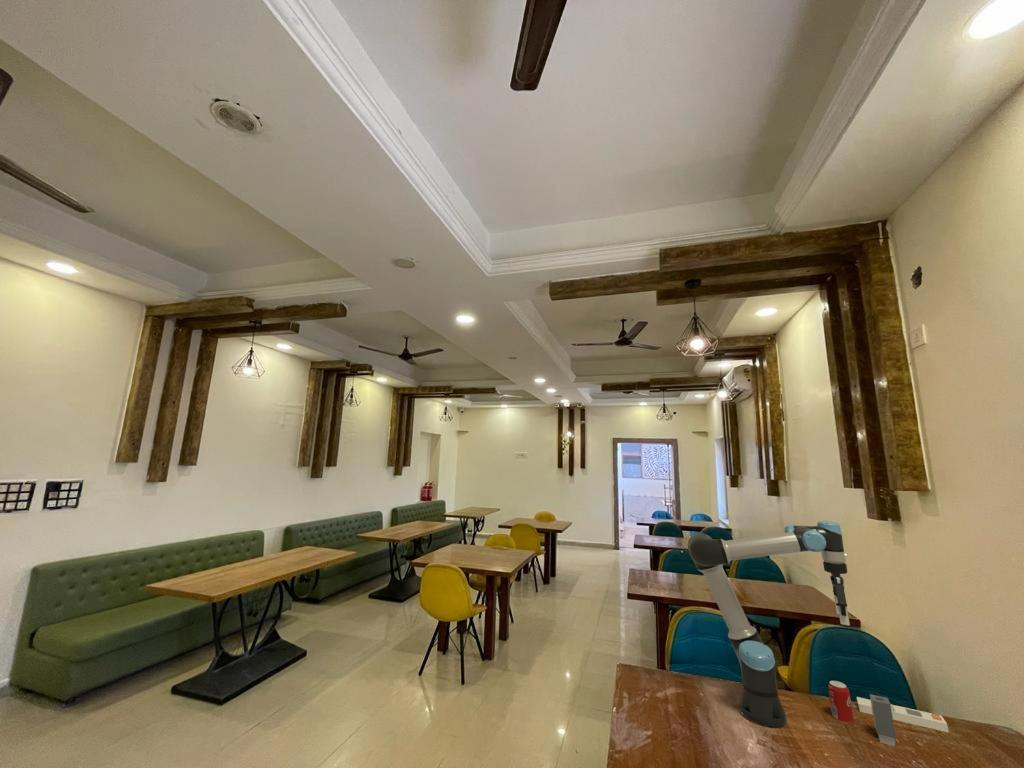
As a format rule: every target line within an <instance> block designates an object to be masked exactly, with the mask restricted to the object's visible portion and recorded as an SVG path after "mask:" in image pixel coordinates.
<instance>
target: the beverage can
mask: <svg viewBox="0 0 1024 768" xmlns="http://www.w3.org/2000/svg"><path fill="white" fill-rule="evenodd" d="M827 689H828V695H829V696H828V697H829V703H830V710H831V715H832V717H833V718H834V719H835V720H837V721H840V722H842V723H848V724H849V723H854V715H853V714H854V713H853V707H852V706H851V705H852V701H851V694H850V690H849V688H848V687H847V685H846V684H845V683H843V682H841V681H839V680H838V681H837V680H830V681H829V684H828V685H827Z"/></svg>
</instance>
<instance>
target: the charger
mask: <svg viewBox="0 0 1024 768" xmlns="http://www.w3.org/2000/svg"><path fill="white" fill-rule="evenodd" d="M869 698H870V699H869V700H871V706H872V713H873V715H872V717H873V718H872V719H873V724H874V728H875V732H876V734H877V735H878V740H879V743H881V744H886V745H889V746H893V747H896V741H895V739H897V736H896V730H895V729H896V728H895V725H894V719H893V717H892V711H891V705H892V704H891V702H890V701H889V698H888V697H885V696H880V695H876V694H871V693H869ZM890 704H891V705H890Z"/></svg>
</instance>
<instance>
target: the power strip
mask: <svg viewBox="0 0 1024 768" xmlns="http://www.w3.org/2000/svg"><path fill="white" fill-rule="evenodd" d="M856 702H857V705H854V704H851V706H852V708H854V709H855V708H856V709H859V712H861V713H864V714H869V715H872V716H873V713H872V706H871V700H870V699H867V698H864V697H860V696H856ZM890 705H891V711H892V717H893V721H894V720H895V721H898V722H902V723H907V724H911V725H916V726H919V727H924V728H929V729H932V730H937V731H940V732H941V731H942V732H945V733H949V732H950V731H949V727H948V723H947V721H946V720H945V719H944V717H943V715H940V714H936V713H930V712H927V711H922V710H918V709H912V708H909V707H905V706H900V705H894V704H892V703H890Z"/></svg>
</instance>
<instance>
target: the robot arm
mask: <svg viewBox="0 0 1024 768" xmlns="http://www.w3.org/2000/svg"><path fill="white" fill-rule="evenodd" d="M687 550H688V553H689V556H690V558H691V560H692V561H693V563H694V564H695V567H696V569H697V571H699V572H700V573H702V574H703V576H704V579H705V580H706V582H707V585H708V587H709V589H710V591H711V594H712V595H713V598H714V600H715V602H716V605H717V606H718V608H719V611H720V613H721V615H722V618H723V620H724V622H725V624H726V626H727V628H728V630H729V631H728V634H727V636H728V639H729V641H730V644H731V645H732V648H733V650H734V653H735V655H736V657H737V659H738V662H739V663H738V664H739V665H740V672H741V682H742V691H741V696H740V699H739V711H740V710H741V712H742V713H743V715H744V716H746V717H747V718H748V719H749V721H750V720H751V721H750V722H752V721H753V722H752V723H754V722H755V724H757V723H758V724H757V725H760V726H763V725H765V726H764V727H768V726H772V727H771V728H780V727H784V726H786V724H787V721H788V720H787V713H786V711H785V709H784V706H783V704H782V702H781V699H780V697H779V690H778V681H777V674H776V672H777V671H776V660H775V659H776V658H775V657H774V652H773V650H772V649H771V648H770V647H769V646H768V645H767V644H764V642H763V641H762V639H761V636H760V634H759V632H758V630H757V629H756V627H754V626H752V625H751V624H750V622H749V620H748V618H747V615H746V613H745V612H744V608H743V607H742V605H741V603H740V600H739V598H738V597H737V595H736V593H735V591H734V588H733V587H732V584H731V582H730V580H729V578H728V576H727V574H726V572H725V570H724V567H723V566H724V565H729V564H730V563H731V561H738V560H745V559H754V558H762V557H769V556H777V555H785V554H794V553H801V552H803V553H805V552H813V553H820V552H821V558H822V560H823V561H822V565H823V570H824V572H827V573H829V574H830V575H829V576H830V581H831V585H832V592H833V598H834V599H833V600H834V603H835V604H834V605H835V611H836V614H837V615H838V616H839V623H840V625H844V626H850V625H851V623H850V619H849V617H850V616H849V612H848V603H847V598H846V593H845V584H844V583H845V581H844V578H843V576H841V575H846V574H847V573H848V566H847V563H846V562H847V561H846V557H847V555H848V554H847V553H845V549H844V540H843V533H842V529H841V526H840V524H839V522H836V521H829V520H823V521H822V520H819V521H817V524H816V525H815V526H814V525H813V526H812V525H809V526H808V525H795V524H793V525H785V527H784V532H781V533H772V534H766V535H760V536H757V535H756V536H751V537H750V536H749V537H745V538H738V539H737V538H735V539H729V540H724V539H722V538H715V539H713V538H712V537H711V536H710V535H708V534H705V533H695V534H694V535H692V536H691V537H690V538H689V539H688V542H687ZM741 712H740V713H741ZM743 715H742V716H743ZM744 716H743V717H744ZM746 717H745V718H746ZM747 718H746V719H747ZM748 719H747V720H748Z"/></svg>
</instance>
